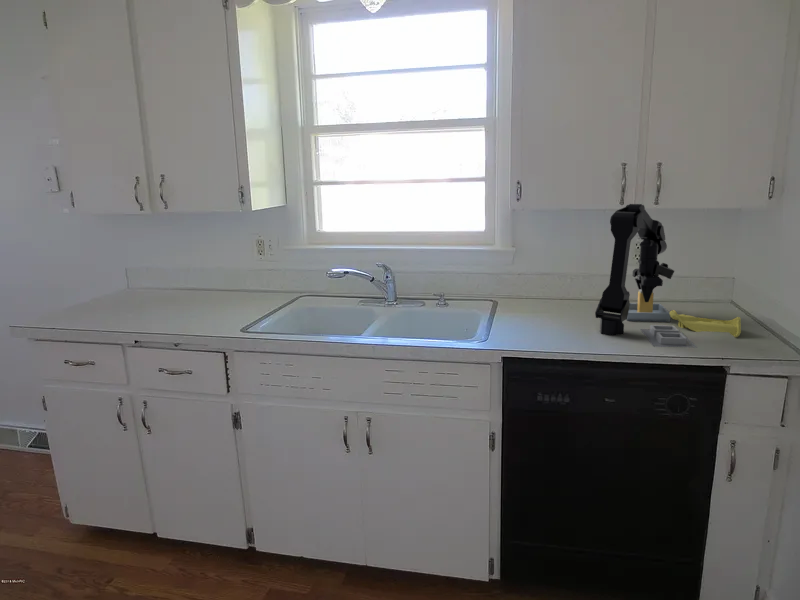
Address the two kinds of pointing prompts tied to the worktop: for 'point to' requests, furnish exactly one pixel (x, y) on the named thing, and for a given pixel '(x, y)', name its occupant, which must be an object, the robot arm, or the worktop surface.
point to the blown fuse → (644, 303)
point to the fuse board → (667, 336)
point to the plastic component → (708, 324)
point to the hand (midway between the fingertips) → (645, 300)
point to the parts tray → (648, 314)
